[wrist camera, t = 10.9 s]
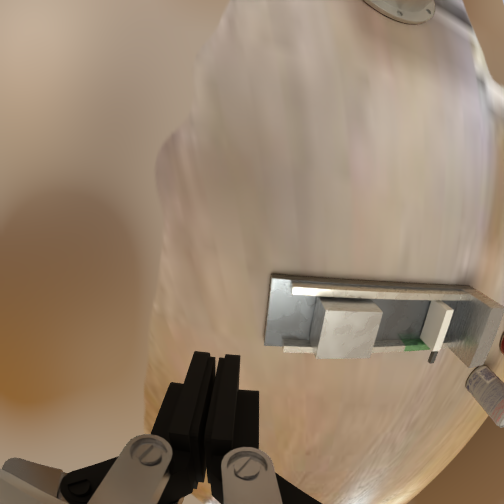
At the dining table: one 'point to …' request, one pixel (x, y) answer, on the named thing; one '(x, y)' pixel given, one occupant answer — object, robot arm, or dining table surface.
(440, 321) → the white slab
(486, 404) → the energy drink
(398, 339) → the gauge bed
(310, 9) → the dining table surface
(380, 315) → the grey block
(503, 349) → the soda can
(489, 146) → the dining table surface
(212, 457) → the robot arm
